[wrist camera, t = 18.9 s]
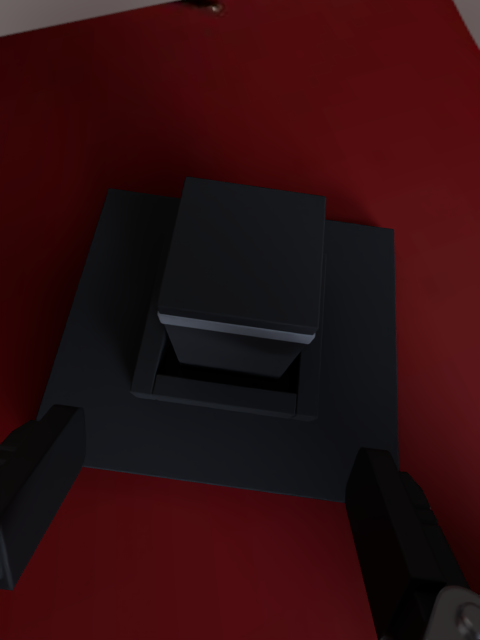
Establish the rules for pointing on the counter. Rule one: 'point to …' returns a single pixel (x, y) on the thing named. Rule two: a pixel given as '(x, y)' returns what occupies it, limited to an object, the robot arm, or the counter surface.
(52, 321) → the counter surface
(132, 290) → the base pad
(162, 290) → the pad block
